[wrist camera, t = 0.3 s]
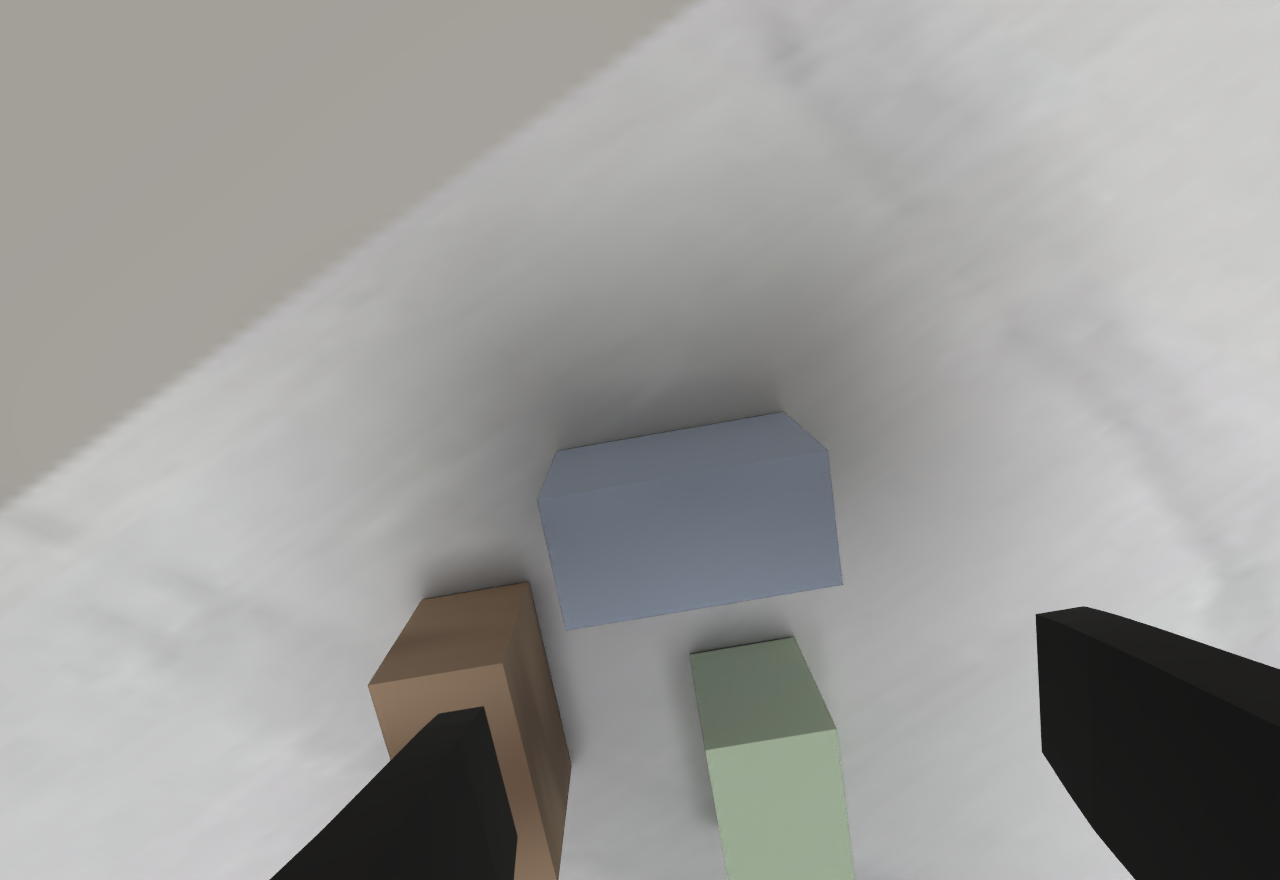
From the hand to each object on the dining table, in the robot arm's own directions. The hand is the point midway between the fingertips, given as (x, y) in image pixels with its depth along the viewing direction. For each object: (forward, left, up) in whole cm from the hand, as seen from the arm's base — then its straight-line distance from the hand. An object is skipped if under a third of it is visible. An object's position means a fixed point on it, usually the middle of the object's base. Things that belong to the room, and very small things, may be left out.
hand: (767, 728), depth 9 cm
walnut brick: (-5, +6, -10) cm, 12 cm away
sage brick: (-8, -1, -10) cm, 12 cm away
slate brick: (0, 0, -10) cm, 10 cm away
